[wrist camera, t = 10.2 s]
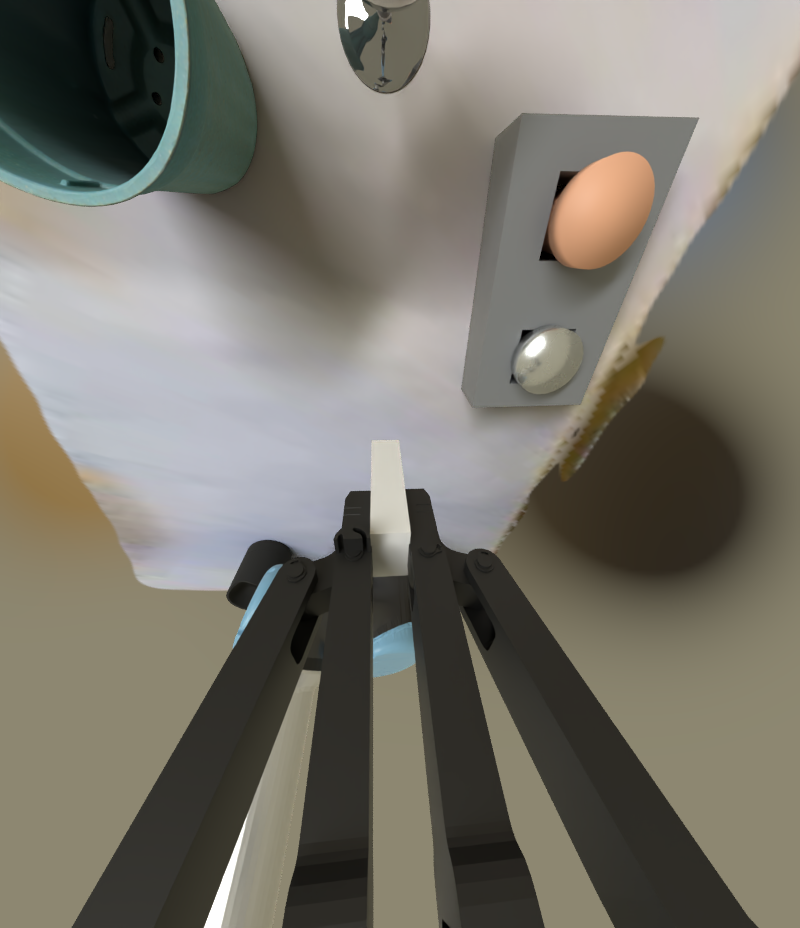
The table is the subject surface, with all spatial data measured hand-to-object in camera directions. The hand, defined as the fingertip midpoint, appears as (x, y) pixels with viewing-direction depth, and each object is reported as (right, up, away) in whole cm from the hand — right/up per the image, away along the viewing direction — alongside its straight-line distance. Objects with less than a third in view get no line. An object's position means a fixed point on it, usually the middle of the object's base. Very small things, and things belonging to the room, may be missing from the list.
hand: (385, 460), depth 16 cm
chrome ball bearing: (+17, +15, +20) cm, 30 cm away
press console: (+17, +20, +17) cm, 31 cm away
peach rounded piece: (+17, +24, +12) cm, 31 cm away
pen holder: (-26, -19, +44) cm, 54 cm away
